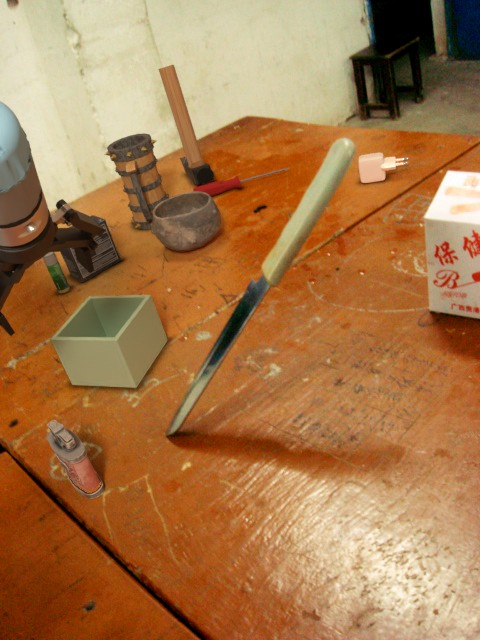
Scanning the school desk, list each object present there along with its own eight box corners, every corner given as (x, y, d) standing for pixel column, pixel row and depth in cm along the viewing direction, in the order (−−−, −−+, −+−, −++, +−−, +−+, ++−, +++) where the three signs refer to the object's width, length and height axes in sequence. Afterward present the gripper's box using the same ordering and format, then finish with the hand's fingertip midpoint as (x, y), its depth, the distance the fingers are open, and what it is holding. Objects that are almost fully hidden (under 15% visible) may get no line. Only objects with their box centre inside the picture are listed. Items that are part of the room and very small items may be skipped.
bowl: (149, 254, 143) (135, 214, 137) (198, 223, 151) (187, 184, 145) (189, 266, 133) (176, 223, 128) (240, 232, 141) (229, 191, 136)
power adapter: (409, 170, 148) (407, 146, 145) (410, 178, 144) (408, 154, 141) (361, 177, 151) (358, 153, 148) (360, 185, 147) (357, 161, 144)
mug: (179, 203, 164) (156, 127, 153) (180, 231, 150) (154, 149, 139) (131, 215, 165) (104, 141, 154) (127, 244, 150) (97, 164, 140)
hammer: (186, 178, 185) (152, 71, 173) (202, 173, 185) (169, 65, 174) (198, 187, 166) (161, 67, 155) (216, 180, 167) (180, 61, 156)
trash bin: (72, 385, 107) (49, 339, 102) (107, 339, 117) (88, 295, 112) (136, 387, 103) (116, 340, 97) (167, 340, 112) (151, 294, 107)
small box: (108, 254, 148) (92, 213, 143) (122, 260, 143) (106, 218, 138) (69, 275, 143) (51, 234, 138) (82, 283, 139) (64, 240, 133)
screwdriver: (292, 176, 161) (289, 163, 159) (196, 202, 162) (193, 190, 160) (289, 172, 164) (287, 159, 162) (195, 197, 165) (192, 185, 163)
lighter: (62, 474, 90) (33, 423, 84) (82, 460, 91) (56, 408, 86) (88, 503, 84) (59, 450, 78) (110, 487, 85) (83, 434, 80)
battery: (72, 287, 138) (55, 249, 133) (64, 294, 136) (46, 256, 131) (64, 286, 139) (47, 248, 134) (55, 293, 138) (38, 254, 133)
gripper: (-65, 317, 63) (-11, 375, 83) (126, 174, 71) (134, 258, 91) (-112, 266, 64) (-48, 335, 84) (81, 131, 72) (98, 223, 92)
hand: (47, 295), depth 88 cm, fingers open, 13 cm apart
